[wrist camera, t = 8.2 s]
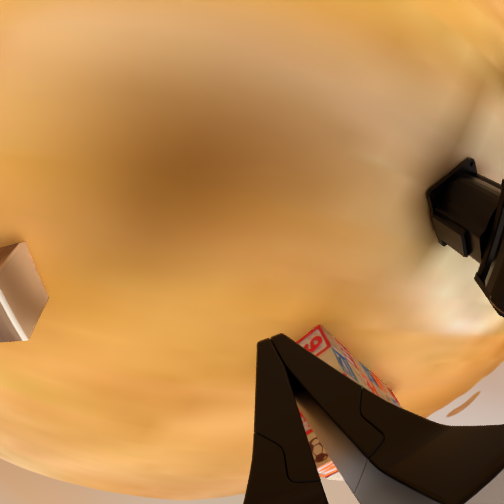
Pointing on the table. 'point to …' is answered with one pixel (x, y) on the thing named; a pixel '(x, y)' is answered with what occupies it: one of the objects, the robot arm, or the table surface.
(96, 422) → the table surface
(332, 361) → the stack of blocks
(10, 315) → the walnut block
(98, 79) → the table surface
